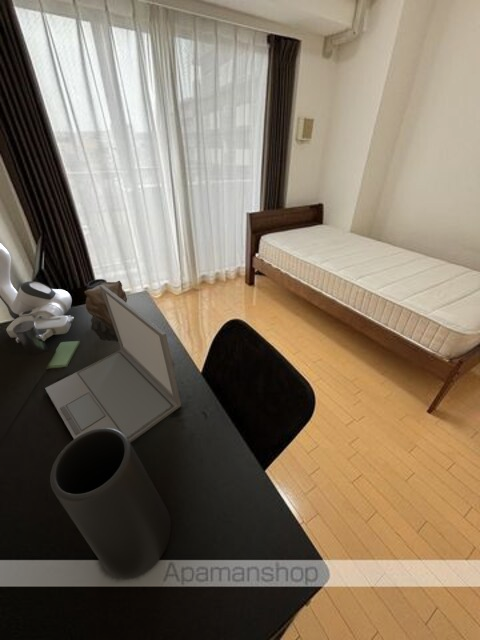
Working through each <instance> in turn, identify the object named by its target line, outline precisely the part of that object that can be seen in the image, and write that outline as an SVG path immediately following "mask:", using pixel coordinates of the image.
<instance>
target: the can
mask: <svg viewBox="0 0 480 640" xmlns="http://www.w3.org/2000/svg"><path fill="white" fill-rule="evenodd" d="M13 332H14V333H16V335H17V337H18V338H19V340H20V342H21V343H20V344H21V345H22V347H23V348H24V350H25V352H26V353H27V354H28V355H29V356H38V355H40V354H42V353H44V352H49V348H48V346H47V343H46V342H45V341H39V339H38V337H39V336H40V333H39V331H38V329H37V327H36V324H35V322H33V321H25V322H22V323H20V324H18V325H16V326H15V327H14V328H13ZM17 337H16V338H17Z"/></svg>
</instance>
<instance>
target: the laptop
mask: <svg viewBox="0 0 480 640" xmlns="http://www.w3.org/2000/svg"><path fill="white" fill-rule="evenodd" d="M100 288H101V291H102V294H103V297H104V300H105V303H106V306H107V309H108V312H109V315H110V318H111V321H112V323H113V326H114V329H115V332H116V335H117V338H118V341H117V342H118V344H119V347H120V349H119V350H118V351H115V352H114V353H111V354H109V355H108V356H106V357H103V358H101V359H99V360H98V361H95V362H93V363H91V364H89V365H88V366H86V367H84V368H82V369H79V370H78V371H76V372H74V373H72V374H70V375H68V376H66V377H64V378H62V379H60V380H58V381H57V382H54V383H52V384H50V385H49V386H46V387H45V388H44V389H45V391H46V393H47V394H48V397H49V398H50V400H51V402H52V404H53V405H54V408H55V409H56V410H57V412H58V414H59V416H60V417H61V419H62V421H63V422H64V425H65V426H66V428H67V430H68V432H69V433H70V435H71V436H72V438H73V440H74V439H75V438H77V437H78V436H80V435H82V434H84V433H86V432H88V431H91V430H94V429H99V428H113V429H116V430H119V431H121V432H122V433H123V434H124V435H125V436H126V437H127V439H128V440H129V442H130V443H131V444H132V443H133V441H135V440H136V439H138V438H139V437H141V436H142V435H143V434H144V433H146V432H148V431H149V430H150V429H152V428H153V427H155V426H156V425H157V424H159V423H160V422H162V421H163V420H164V419H165V418H167V417H168V416H169V415H171V414H172V413H174V412H176V410H178V409H180V408H181V407H182V402H181V397H180V394H179V389H178V385H177V380H176V374H175V370H174V365H173V360H172V356H171V351H170V346H169V342H168V336H167V333H166V332H165V331H164V330H162V329H161V328H160V327H159V326H158V325H156V324H155V323H153V322H152V321H151V320H150V319H148V318H147V317H145V316H144V315H143V314H142V313H140V312H139V311H138V310H137V309H135V308H134V307H133V306H131V305H130V304H129V303H128V302H127V303H126V302H125V301H123V300H122V299H121V298H119V297H118V296H117V295H116V294H114V293H113V292H112V291H110V290H109V289H108V288H106V287H105V286H104V285H100Z"/></svg>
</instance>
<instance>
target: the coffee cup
mask: <svg viewBox="0 0 480 640" xmlns="http://www.w3.org/2000/svg"><path fill="white" fill-rule="evenodd" d="M104 282H108V281H107V280H106V279H103V278H96V279H93V280H90V281H88V282H87V284H86V290H88V289H93V288H95V287H96V286H99V285H101V283H104Z"/></svg>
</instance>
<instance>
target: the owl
mask: <svg viewBox="0 0 480 640" xmlns="http://www.w3.org/2000/svg"><path fill="white" fill-rule="evenodd" d="M101 285H104V286H105V287H106V288H108V289H109V290H110V291H112V292H113V293H114V294H116V295H117V296H118V297H119V298H121V299H122V300H123V301H125V302H126V303H127V304H128V302H127V301H128V298H127V294H126V291H125V290H124V289H123V284H122V282H121V280H117V281H107V282H104V283H101ZM83 293H84V295H85V296H86V298H85V308H86V311H87V313H88V314H90V315H91V316H92V318H91V319H90V322H91V330H92V331H93V332H94V333H95V334H96V336H97V337H99V340H101V341H110V342H111V341H112V342H113V341H115V342H119V341H118V338H117V335H116V332H115V329H114V326H113V323H112V321H111V318H110V315H109V312H108V309H107V306H106V303H105V300H104V297H103V294H102V291H101V288H100V285H99V286H96V287H95V288H93V289H88V290H87V289H86V290H84V292H83Z"/></svg>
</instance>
